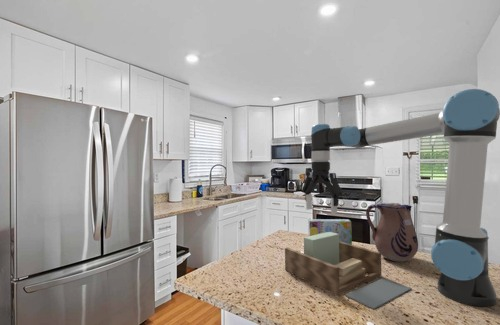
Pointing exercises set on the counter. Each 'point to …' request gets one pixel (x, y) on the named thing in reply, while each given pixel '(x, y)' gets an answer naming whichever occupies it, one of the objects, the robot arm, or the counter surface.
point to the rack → (333, 267)
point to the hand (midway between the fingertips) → (321, 211)
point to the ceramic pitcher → (394, 231)
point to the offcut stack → (350, 271)
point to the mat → (378, 293)
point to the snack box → (331, 228)
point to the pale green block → (323, 247)
